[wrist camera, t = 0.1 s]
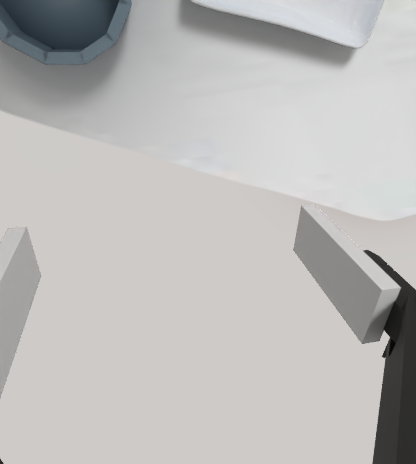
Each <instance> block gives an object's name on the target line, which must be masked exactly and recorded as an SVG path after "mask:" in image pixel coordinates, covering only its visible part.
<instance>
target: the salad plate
mask: <svg viewBox="0 0 416 464" xmlns="http://www.w3.org/2000/svg"><path fill="white" fill-rule="evenodd" d="M190 1H192V2H193V3H195V4H197V5H199V6H202V7H206V8H209V9H212V10H216V11H220V12H224V13H229V14H233V15H237V16H242V17H246V18H251V19H255V20H259V21H263V22H267V23H271V24H275V25H279V26H283V27H286V28H290V29H293V30H296V31H300V32H303V33H306V34H310V35H313V36H315V37H319V38H321V39H324V40H327V41H330V42H333V43H336V44H339V45H343V46H346V47H350V48H356V49H357V48H361V47H363V46H364V45H365V44H366V43H367V41H368V39H369V37H370V35H371V33H372V30H373V28H374V25H375V23H376V20H377V18H378V15H379V13H380V10H381V7H382V5H383V2H384V0H190Z"/></svg>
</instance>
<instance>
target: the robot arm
mask: <svg viewBox="0 0 416 464" xmlns="http://www.w3.org/2000/svg"><path fill="white" fill-rule="evenodd" d="M293 250H294V252H295V253H296V254H297V256H298V257H299V258H300V260H301V261H302V262H303V264H304V265H305V267H306V268H307V269H308V271H309V272H310V273H311V275H312V276H313V277H314V279H315V280H316V282H317V283H318V284H319V286H320V287H321V288H322V290H323V291H324V293H325V294H326V295H327V297H328V298H329V299H330V301H331V302H332V303H333V305H334V306H335V307H336V309H337V310H338V312H339V313H340V314H341V316H342V317H343V318H344V320H345V321H346V323H347V324H348V325H349V327H350V328H351V329H352V331H353V332H354V333H355V335H356V336H357V338H358V339H359V340H360V342H361V343H362V344H364V343H369V342H376V341H380V338H381V336H382V333H383V331H384V330H385V332H386V333H387V334H388V335H389V336H390V339H389V341H388V344H387V346H386V348H385V351H384V353H383V356H382V357H384V358H385V357H386V359H385V368H384V376H383V384H382V392H381V401H380V408H379V416H378V424H377V432H376V440H375V448H374V456H373V464H416V290H415V289H414V288H413V287H412V286H411V285H410V284H409V283H408V282H406V281H405V280H404V279H403V278H402V277H401V276H400V275H399V274H398V273H397V272H396V271H393V269H392V268H391V267H390V266H389V265H387V263H386V262H385V261H384V260H383V259H382V258H381V257H379V256H378V255H376V254H374V253H372V252H371V251H369V250H365V251H363V250H362V249H361V248H360V247H358V246H357V245H356V244H355V243H354V242H353V241H352V240H351V239H350V238H349V237H348V236H347V235H346V234H345V233H344V232H343V231H342V230H341V229H340V228H339V227H338V226H337V225H336V224H335V223H334V222H333V221H331V219H330V218H328V217H327V216H326V215H325V214H324V213H323V212H322V211H321V210H320V209H319V208H318V207H317V206H316V205H304V206H301V211H300V217H299V222H298V227H297V233H296V239H295V244H294V249H293ZM40 278H41V274H40V271H39V267H38V264H37V261H36V257H35V254H34V250H33V247H32V244H31V240H30V237H29V233H28V230H27V227H21V228H9V229H7V231H6V233H5V235H4V236H3V238H2V240H1V242H0V397H1V394H2V391H3V388H4V385H5V382H6V379H7V376H8V373H9V370H10V367H11V364H12V361H13V358H14V355H15V352H16V349H17V346H18V343H19V340H20V337H21V334H22V331H23V328H24V325H25V322H26V319H27V316H28V313H29V310H30V307H31V304H32V301H33V298H34V295H35V292H36V289H37V286H38V283H39V280H40ZM0 464H3V462H2V461H1V459H0Z"/></svg>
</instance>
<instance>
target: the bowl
mask: <svg viewBox="0 0 416 464" xmlns="http://www.w3.org/2000/svg"><path fill="white" fill-rule="evenodd" d="M130 8H131V0H0V38H1V40H2V41H3V42H4V43H6V44H8V45H10V46H11V47H13V48H15V49H17V50H19V51H21V52H23V53H25V54H26V55H28V56H30V57H32V58H34V59H36V60H38V61H40V62H41V63H43V64H86V63H87V62H89V61H90V60H92V59H93V58H95V57H96V56H98V55H99V54H101V53H102V52H103V51H105V50H106V49H108V48H109V47H111V46H112V45H114V44H115V43H116V41H117V39H118V36H119V34H120V32H121V29H122V27H123V24H124V22H125V20H126V17H127V15H128V12H129V10H130ZM105 34H106V35H105ZM86 47H87V48H86ZM83 48H85V49H83Z"/></svg>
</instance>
